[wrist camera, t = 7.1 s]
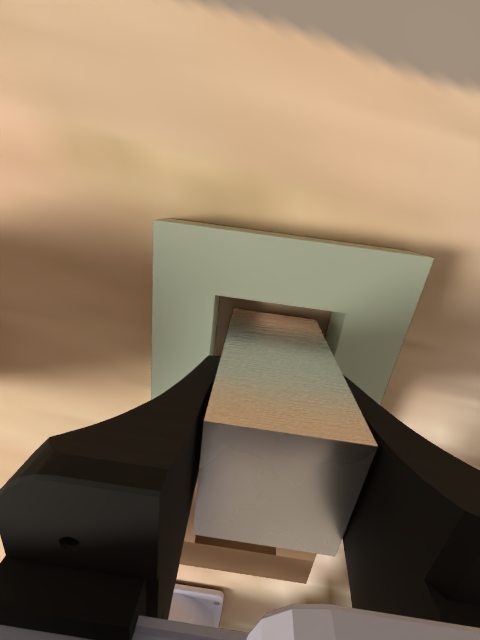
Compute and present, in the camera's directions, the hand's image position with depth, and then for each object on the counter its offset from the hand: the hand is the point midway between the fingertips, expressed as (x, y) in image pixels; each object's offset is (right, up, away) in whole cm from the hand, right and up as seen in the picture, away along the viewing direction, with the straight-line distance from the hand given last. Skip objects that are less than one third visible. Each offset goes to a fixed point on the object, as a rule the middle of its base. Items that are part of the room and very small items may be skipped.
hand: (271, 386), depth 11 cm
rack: (0, +1, +4) cm, 4 cm away
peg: (0, +1, +3) cm, 4 cm away
